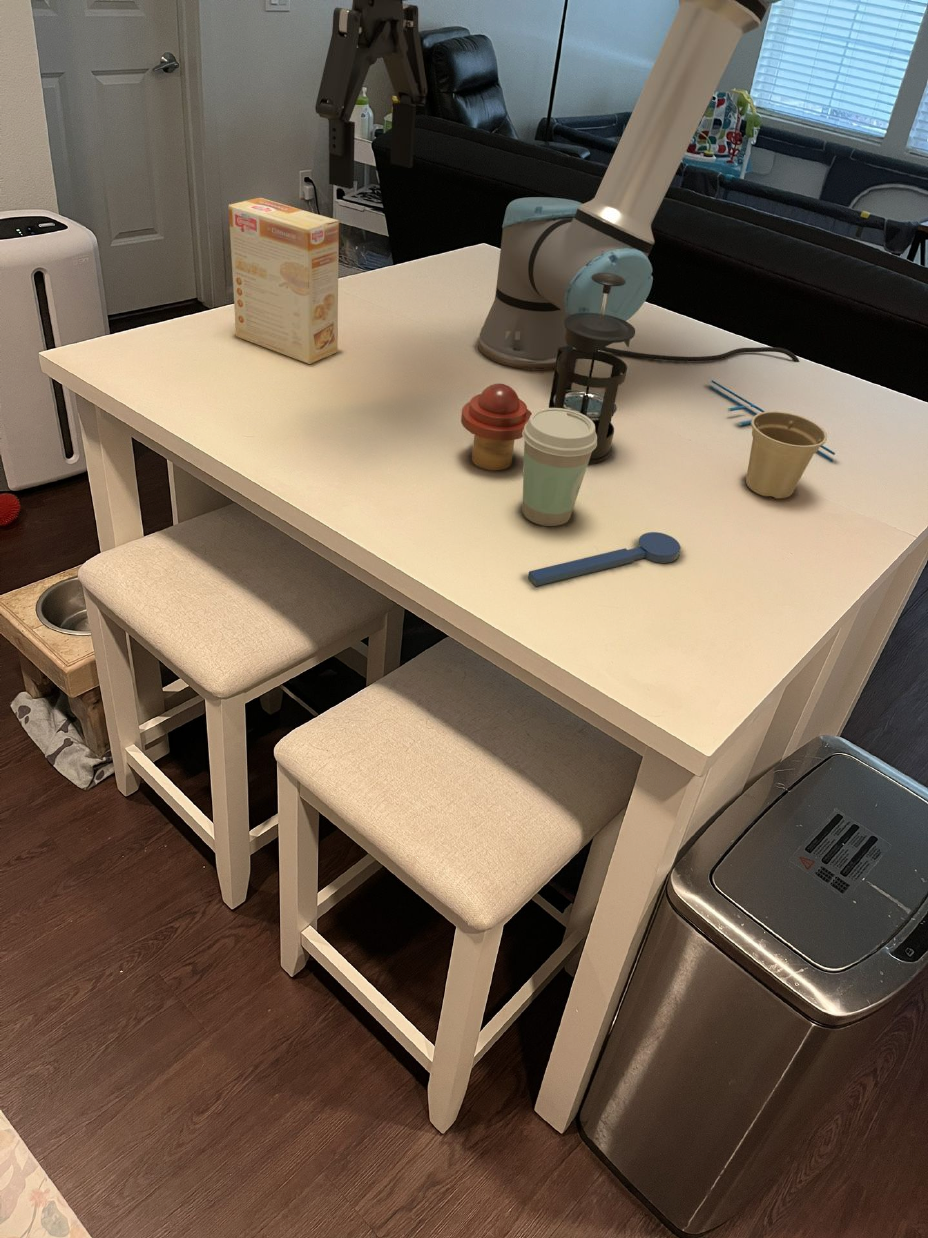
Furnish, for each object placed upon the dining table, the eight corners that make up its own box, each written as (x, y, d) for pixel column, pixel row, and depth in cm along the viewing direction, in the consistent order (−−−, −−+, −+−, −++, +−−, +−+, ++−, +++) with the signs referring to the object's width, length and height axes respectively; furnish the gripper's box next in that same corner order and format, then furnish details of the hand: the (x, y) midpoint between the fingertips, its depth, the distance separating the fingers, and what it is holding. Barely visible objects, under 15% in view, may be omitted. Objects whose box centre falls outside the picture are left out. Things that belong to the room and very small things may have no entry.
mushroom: (504, 439, 125) (514, 366, 118) (538, 471, 119) (551, 396, 113) (445, 449, 121) (452, 374, 115) (477, 482, 115) (487, 405, 109)
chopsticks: (810, 457, 126) (835, 452, 129) (688, 382, 142) (712, 379, 144) (806, 467, 127) (831, 461, 129) (685, 391, 143) (709, 387, 145)
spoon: (661, 536, 110) (663, 528, 109) (686, 558, 106) (689, 550, 106) (520, 569, 101) (521, 561, 101) (543, 594, 98) (544, 586, 97)
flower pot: (793, 514, 117) (816, 453, 111) (722, 489, 120) (741, 428, 115) (813, 485, 123) (835, 427, 118) (745, 462, 127) (764, 404, 121)
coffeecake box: (339, 352, 142) (341, 219, 130) (309, 365, 137) (308, 229, 125) (265, 324, 148) (260, 195, 136) (234, 336, 143) (226, 203, 131)
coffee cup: (577, 538, 107) (596, 446, 100) (505, 524, 108) (519, 432, 101) (584, 502, 114) (603, 413, 107) (516, 489, 115) (530, 400, 107)
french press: (628, 459, 124) (667, 287, 110) (572, 472, 120) (605, 295, 105) (576, 420, 131) (607, 255, 117) (522, 431, 127) (547, 261, 113)
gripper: (406, -55, 104) (397, 151, 117) (277, -56, 86) (283, 188, 99) (466, -46, 102) (449, 163, 115) (346, -45, 84) (342, 202, 97)
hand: (372, 175), depth 107 cm, fingers open, 13 cm apart
